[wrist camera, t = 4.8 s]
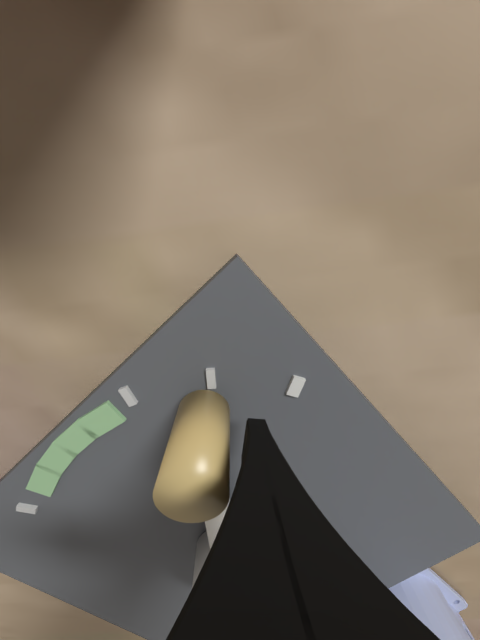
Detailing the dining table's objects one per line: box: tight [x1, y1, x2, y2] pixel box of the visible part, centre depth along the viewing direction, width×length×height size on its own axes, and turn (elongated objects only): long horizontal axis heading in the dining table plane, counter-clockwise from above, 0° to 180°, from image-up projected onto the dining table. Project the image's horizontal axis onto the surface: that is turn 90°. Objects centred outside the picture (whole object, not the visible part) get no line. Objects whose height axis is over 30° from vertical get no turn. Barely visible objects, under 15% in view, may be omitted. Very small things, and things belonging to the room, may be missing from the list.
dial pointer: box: [153, 390, 230, 588], centre depth 12 cm, size 13×4×4 cm, turn 5°
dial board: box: [0, 254, 480, 640], centre depth 16 cm, size 24×24×2 cm
